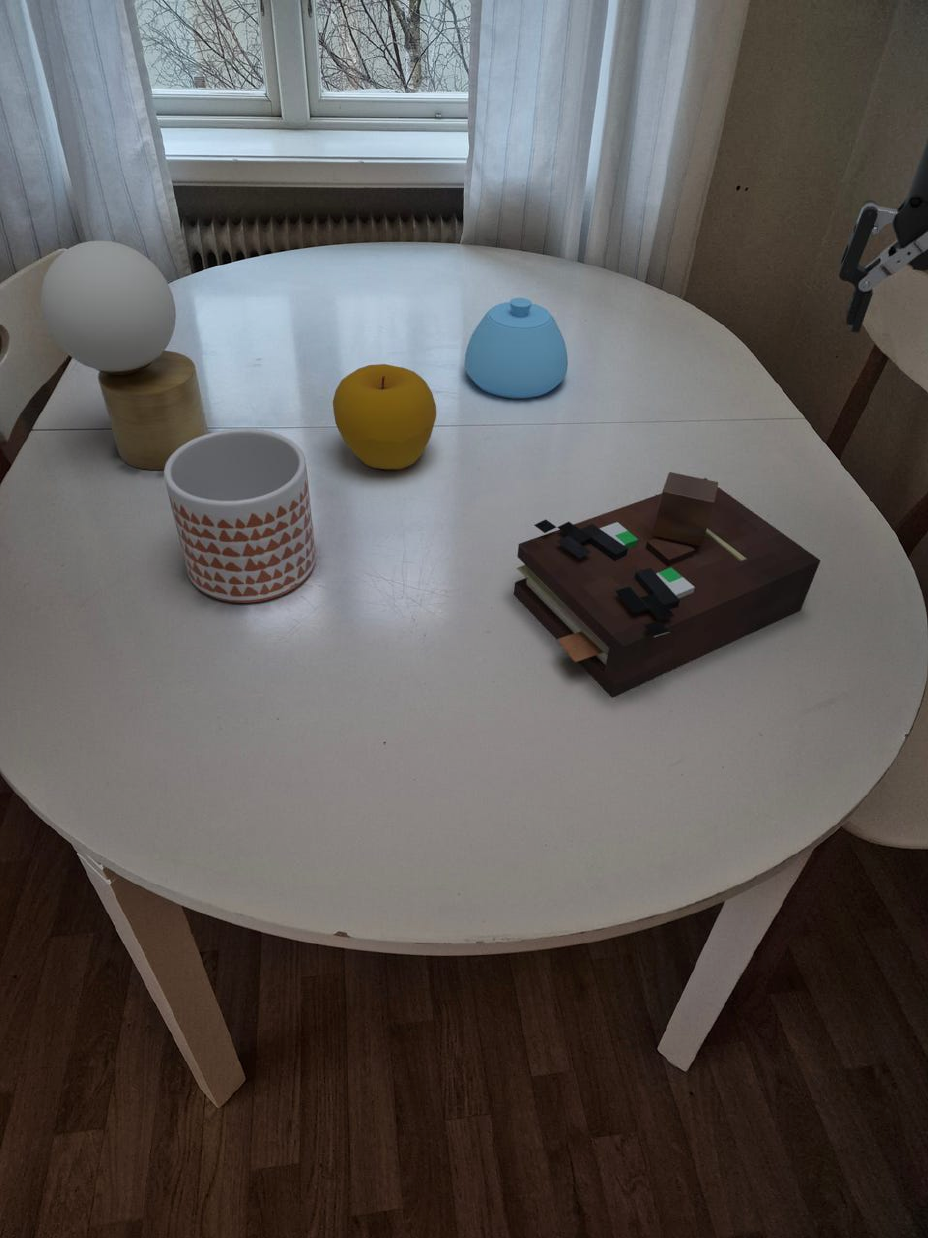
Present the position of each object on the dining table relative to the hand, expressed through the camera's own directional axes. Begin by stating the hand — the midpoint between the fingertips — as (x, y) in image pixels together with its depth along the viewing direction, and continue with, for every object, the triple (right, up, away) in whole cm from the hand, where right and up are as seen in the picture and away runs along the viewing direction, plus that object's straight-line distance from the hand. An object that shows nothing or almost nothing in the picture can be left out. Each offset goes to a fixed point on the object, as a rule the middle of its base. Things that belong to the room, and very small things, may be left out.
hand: (904, 337), depth 77 cm
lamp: (-80, -3, +33) cm, 86 cm away
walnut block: (-17, -16, +11) cm, 26 cm away
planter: (-62, -19, +17) cm, 67 cm away
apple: (-49, -5, +33) cm, 60 cm away
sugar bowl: (-32, +10, +50) cm, 60 cm away
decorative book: (-19, -24, +14) cm, 33 cm away
